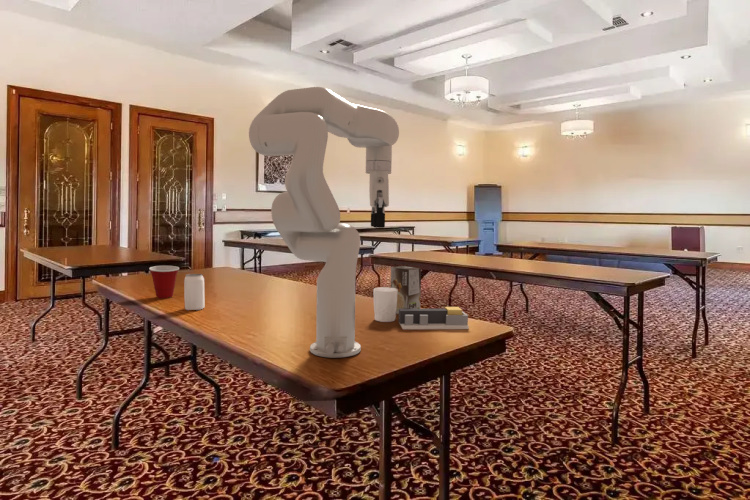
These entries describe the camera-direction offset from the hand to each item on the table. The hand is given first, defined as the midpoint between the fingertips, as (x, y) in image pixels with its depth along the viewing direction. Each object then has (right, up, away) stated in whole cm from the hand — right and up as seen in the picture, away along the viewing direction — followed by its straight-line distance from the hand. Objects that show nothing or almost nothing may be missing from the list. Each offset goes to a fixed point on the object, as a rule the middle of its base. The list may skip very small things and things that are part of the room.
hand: (377, 227), depth 133 cm
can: (-64, -28, +25) cm, 74 cm away
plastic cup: (-84, -26, +45) cm, 98 cm away
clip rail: (+17, -30, +7) cm, 35 cm away
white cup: (+3, -30, +14) cm, 33 cm away
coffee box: (+10, -29, +23) cm, 38 cm away
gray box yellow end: (+16, -29, +7) cm, 34 cm away
